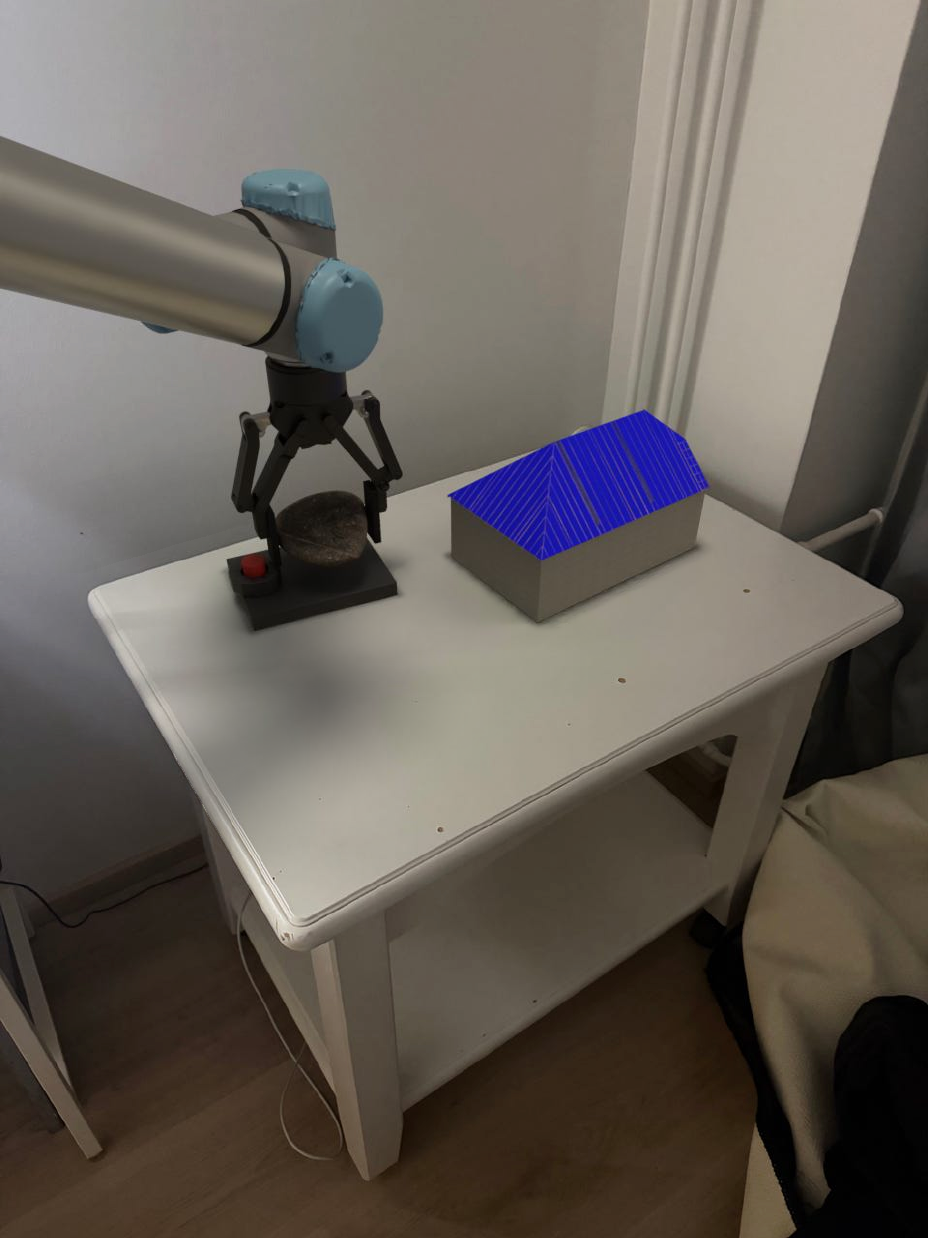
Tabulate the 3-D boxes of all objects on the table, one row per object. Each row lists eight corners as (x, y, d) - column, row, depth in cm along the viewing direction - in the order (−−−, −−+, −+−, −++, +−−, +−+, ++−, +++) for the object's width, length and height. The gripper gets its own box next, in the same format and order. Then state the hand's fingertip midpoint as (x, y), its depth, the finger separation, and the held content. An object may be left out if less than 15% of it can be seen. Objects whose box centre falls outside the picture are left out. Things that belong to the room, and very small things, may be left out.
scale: (247, 633, 92) (242, 606, 90) (222, 572, 101) (217, 546, 99) (397, 594, 98) (396, 568, 96) (361, 540, 106) (359, 515, 104)
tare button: (246, 580, 94) (244, 568, 93) (241, 569, 96) (239, 557, 95) (268, 575, 95) (266, 563, 94) (263, 563, 97) (261, 552, 96)
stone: (399, 553, 97) (397, 514, 94) (318, 592, 92) (312, 552, 89) (340, 513, 104) (336, 475, 101) (260, 547, 99) (253, 508, 96)
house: (603, 492, 116) (616, 376, 106) (698, 547, 105) (722, 425, 96) (447, 555, 104) (446, 432, 94) (536, 624, 94) (545, 494, 84)
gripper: (188, 387, 78) (228, 592, 91) (432, 348, 85) (435, 542, 99) (173, 357, 83) (213, 554, 97) (403, 322, 91) (410, 510, 104)
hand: (325, 548), depth 98 cm, fingers closed on stone, 10 cm apart
